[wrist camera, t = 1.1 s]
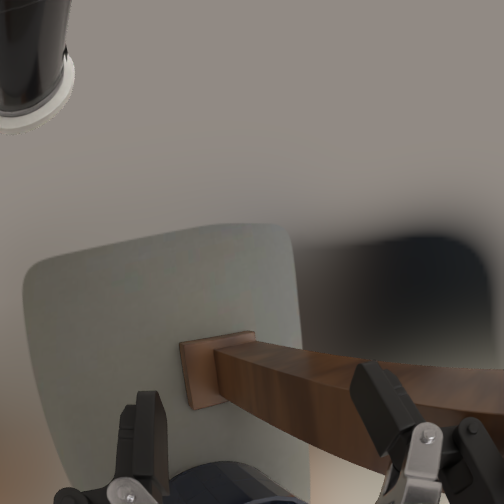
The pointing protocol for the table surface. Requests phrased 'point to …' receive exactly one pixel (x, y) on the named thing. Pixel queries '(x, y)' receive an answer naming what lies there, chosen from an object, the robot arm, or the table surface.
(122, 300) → the table surface
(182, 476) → the pot
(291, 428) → the stand
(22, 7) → the robot arm
